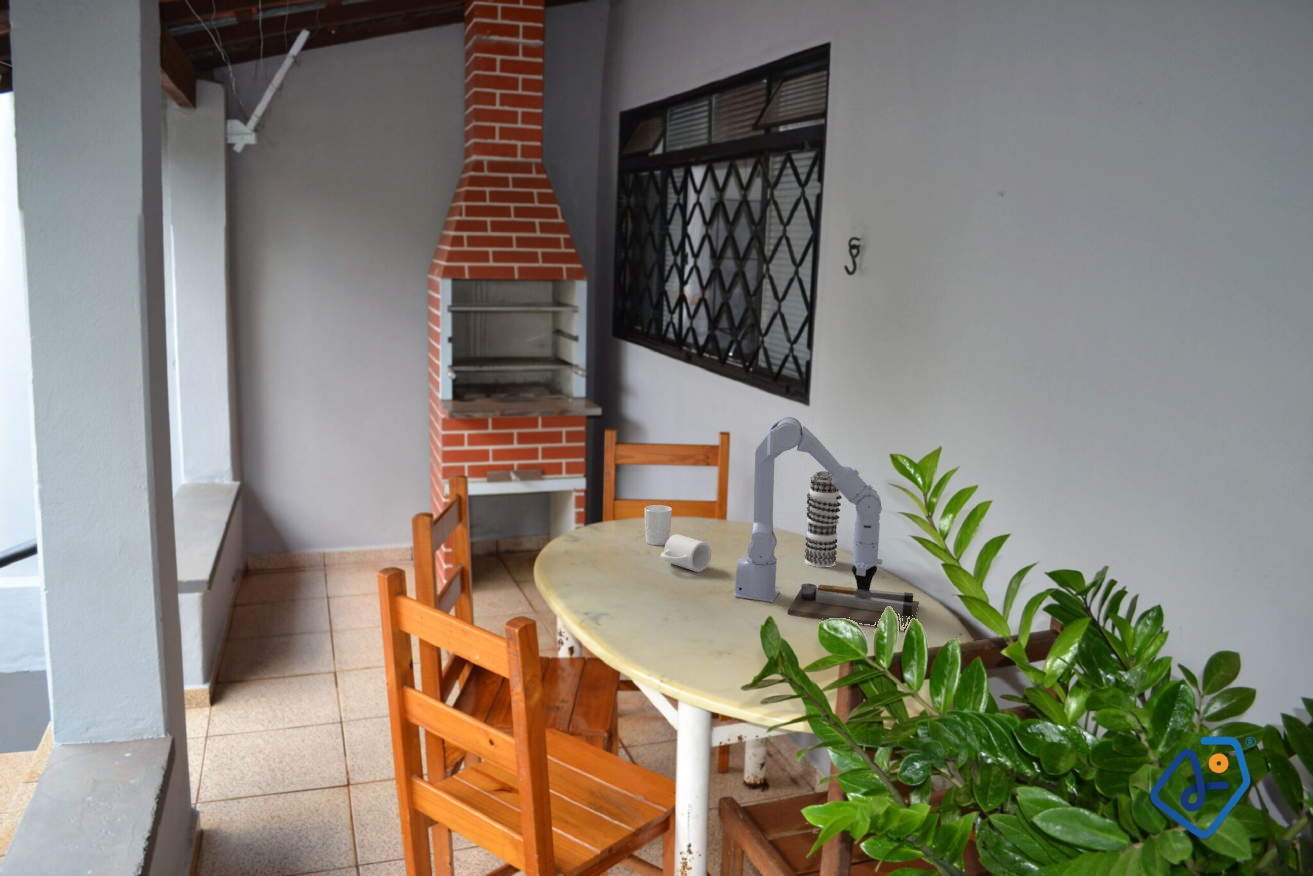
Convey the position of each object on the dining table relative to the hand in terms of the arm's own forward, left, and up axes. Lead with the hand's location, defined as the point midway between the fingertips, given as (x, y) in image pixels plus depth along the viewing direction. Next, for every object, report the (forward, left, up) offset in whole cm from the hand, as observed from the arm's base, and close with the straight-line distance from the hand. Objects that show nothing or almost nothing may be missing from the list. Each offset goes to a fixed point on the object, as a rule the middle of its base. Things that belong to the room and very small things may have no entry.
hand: (863, 595), depth 234 cm
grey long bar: (+1, -6, -1) cm, 6 cm away
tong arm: (-1, -3, -1) cm, 3 cm away
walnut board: (-1, -5, -2) cm, 5 cm away
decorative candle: (-15, +28, -2) cm, 32 cm away
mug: (-48, +8, -3) cm, 49 cm away
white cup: (-62, +28, -2) cm, 68 cm away
